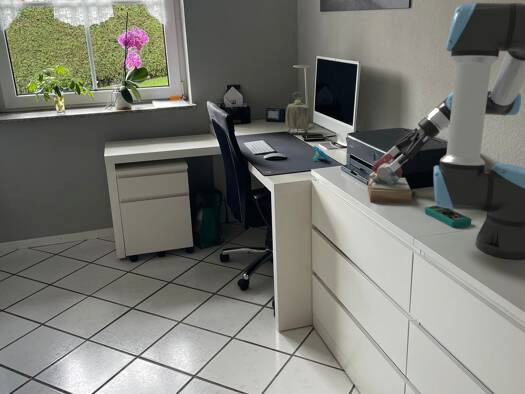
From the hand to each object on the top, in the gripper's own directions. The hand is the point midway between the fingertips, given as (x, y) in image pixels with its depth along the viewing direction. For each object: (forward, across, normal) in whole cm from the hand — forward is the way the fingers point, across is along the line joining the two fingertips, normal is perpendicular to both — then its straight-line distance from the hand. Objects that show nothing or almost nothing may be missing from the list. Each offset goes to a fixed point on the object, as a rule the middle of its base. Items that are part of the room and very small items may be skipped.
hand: (387, 164), depth 184 cm
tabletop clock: (+30, +122, +14) cm, 126 cm away
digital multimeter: (-2, -24, -20) cm, 32 cm away
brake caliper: (+5, 0, -5) cm, 7 cm away
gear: (+23, +54, +6) cm, 59 cm away
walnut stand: (+8, 0, -9) cm, 12 cm away
